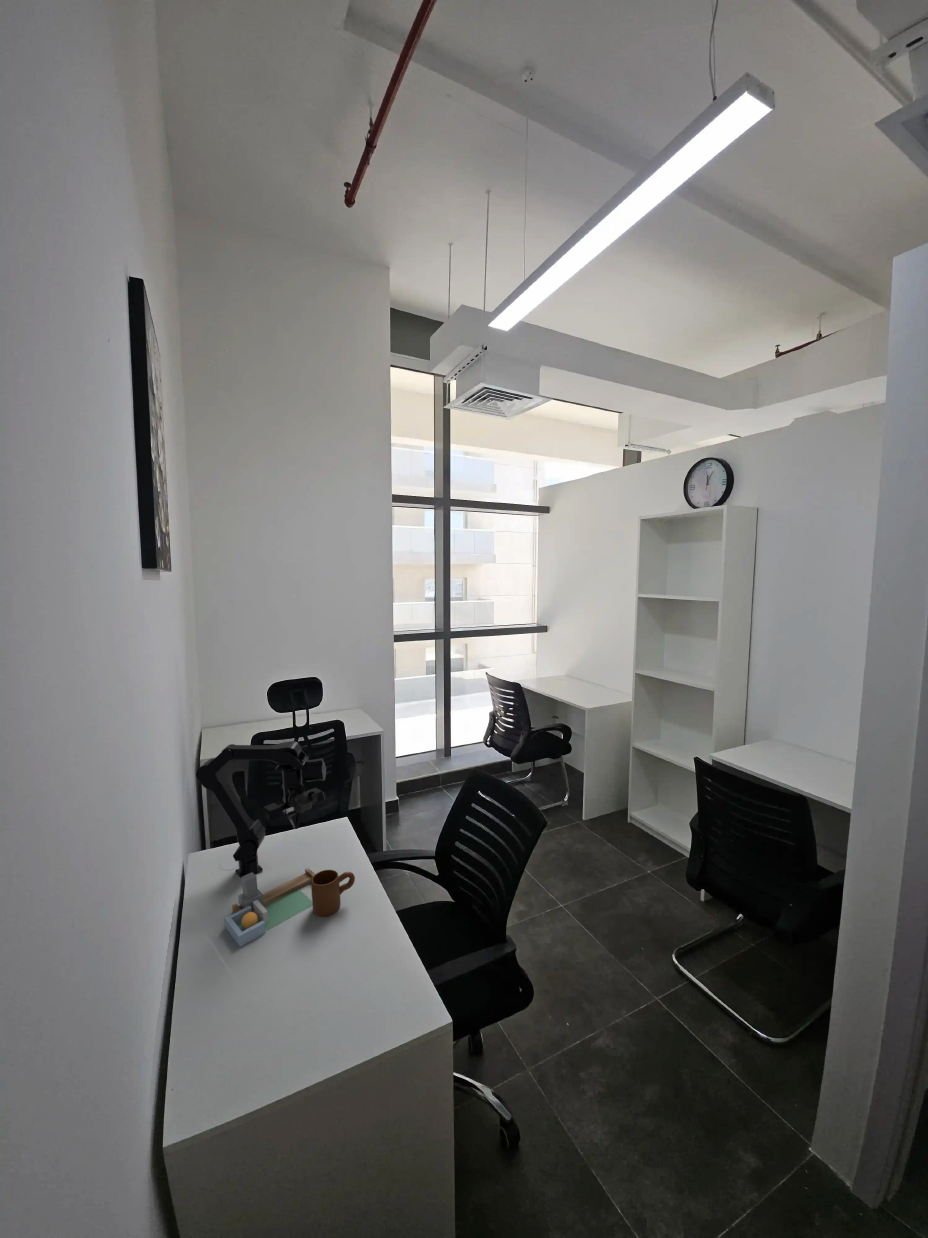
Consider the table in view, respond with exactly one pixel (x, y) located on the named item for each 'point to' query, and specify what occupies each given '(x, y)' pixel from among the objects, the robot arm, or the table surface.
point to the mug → (328, 891)
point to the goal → (247, 934)
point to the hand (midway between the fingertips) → (296, 828)
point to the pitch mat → (284, 909)
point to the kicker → (252, 897)
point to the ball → (249, 920)
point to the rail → (283, 889)
